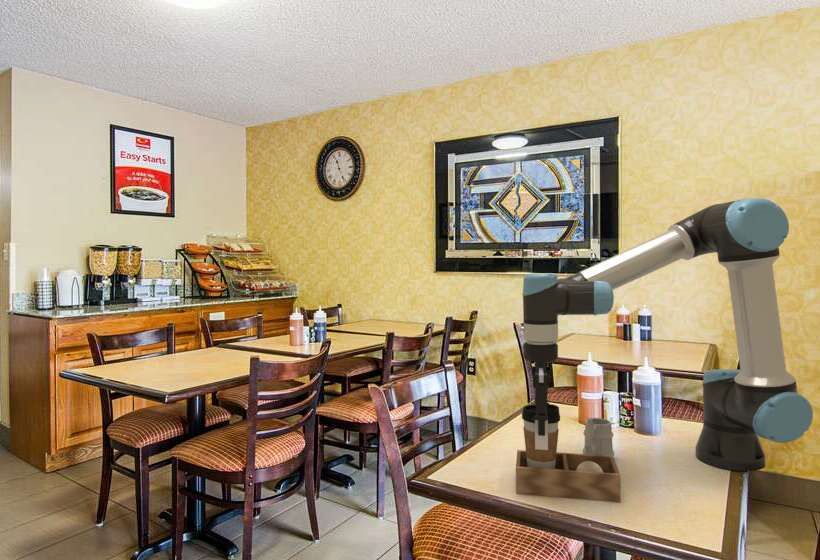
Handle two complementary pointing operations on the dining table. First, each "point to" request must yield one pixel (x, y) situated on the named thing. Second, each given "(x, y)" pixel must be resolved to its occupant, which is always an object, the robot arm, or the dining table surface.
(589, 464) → the beige ball
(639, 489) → the dining table surface
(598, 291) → the robot arm
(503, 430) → the dining table surface
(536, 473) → the caddy
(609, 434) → the mug
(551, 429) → the coffee cup
